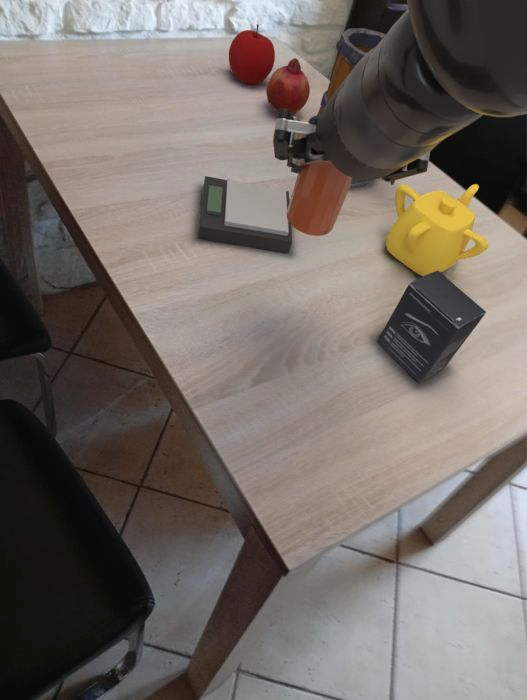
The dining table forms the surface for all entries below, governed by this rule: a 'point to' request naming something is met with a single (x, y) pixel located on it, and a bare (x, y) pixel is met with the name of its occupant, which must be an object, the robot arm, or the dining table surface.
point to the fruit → (288, 87)
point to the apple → (251, 57)
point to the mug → (350, 63)
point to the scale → (245, 215)
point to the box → (429, 325)
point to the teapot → (433, 230)
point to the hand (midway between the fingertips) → (323, 167)
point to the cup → (317, 199)
